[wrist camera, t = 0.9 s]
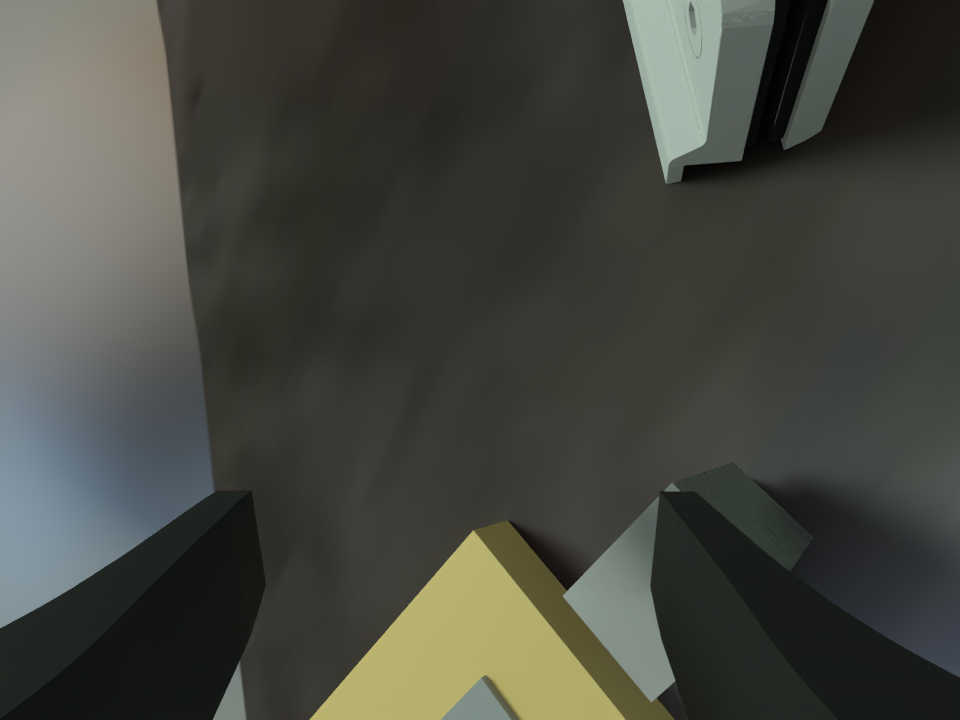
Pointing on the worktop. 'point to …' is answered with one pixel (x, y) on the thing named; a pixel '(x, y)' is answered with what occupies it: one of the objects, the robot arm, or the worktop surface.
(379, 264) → the worktop surface
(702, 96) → the pale green rounded block
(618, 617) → the grey rectangular block
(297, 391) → the worktop surface
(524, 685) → the bracket plate
